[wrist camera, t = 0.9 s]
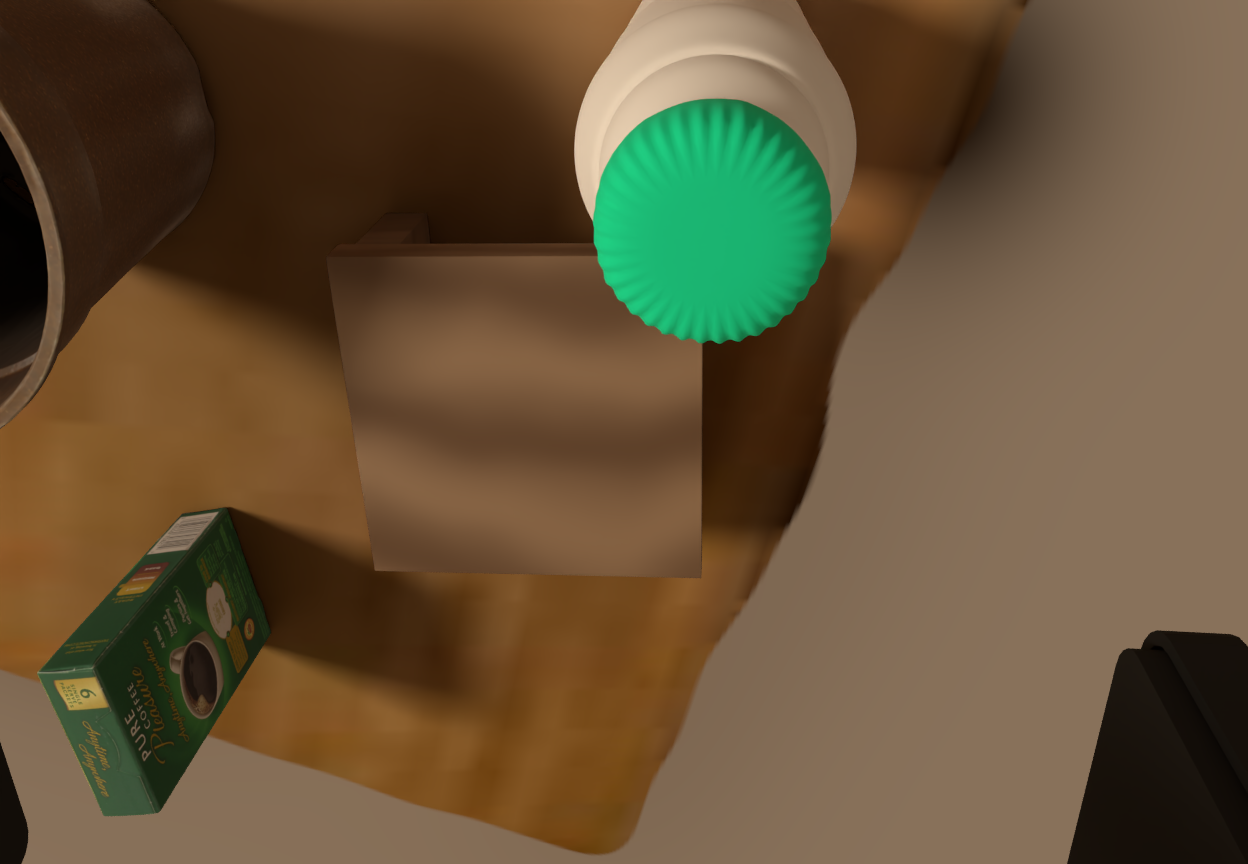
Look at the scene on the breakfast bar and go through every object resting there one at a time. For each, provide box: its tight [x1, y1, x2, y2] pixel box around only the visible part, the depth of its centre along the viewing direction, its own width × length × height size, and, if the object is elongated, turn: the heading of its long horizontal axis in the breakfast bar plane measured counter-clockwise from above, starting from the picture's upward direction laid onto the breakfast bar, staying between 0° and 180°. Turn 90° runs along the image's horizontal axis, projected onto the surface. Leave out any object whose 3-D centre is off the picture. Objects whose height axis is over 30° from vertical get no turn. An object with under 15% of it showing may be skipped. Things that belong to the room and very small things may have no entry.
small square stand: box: [326, 213, 703, 578], centre depth 46 cm, size 14×14×7 cm
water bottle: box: [574, 0, 856, 344], centre depth 32 cm, size 7×7×25 cm
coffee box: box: [37, 508, 271, 816], centre depth 51 cm, size 8×3×13 cm, turn 9°
